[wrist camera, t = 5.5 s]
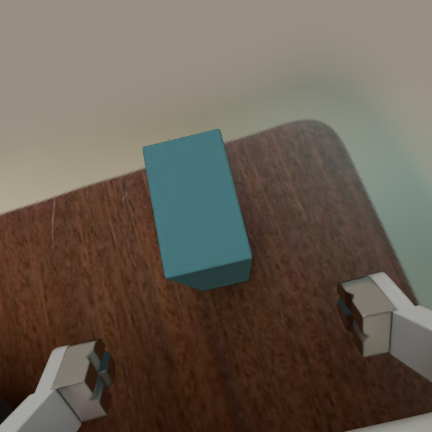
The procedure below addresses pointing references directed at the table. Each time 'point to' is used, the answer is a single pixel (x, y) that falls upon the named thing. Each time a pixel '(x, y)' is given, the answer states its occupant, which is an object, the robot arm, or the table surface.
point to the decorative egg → (4, 411)
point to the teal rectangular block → (197, 212)
